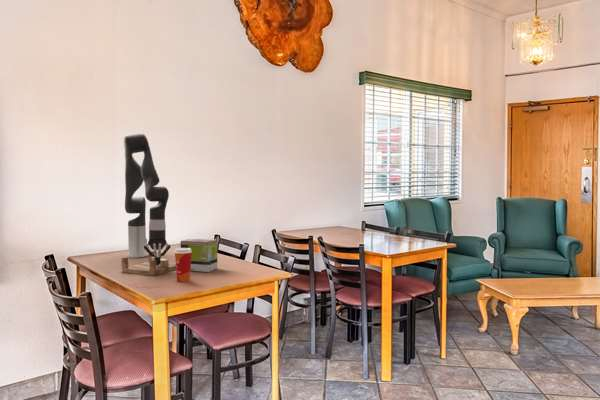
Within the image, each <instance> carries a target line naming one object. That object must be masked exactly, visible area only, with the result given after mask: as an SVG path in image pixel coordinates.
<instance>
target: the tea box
mask: <svg viewBox="0 0 600 400" xmlns="http://www.w3.org/2000/svg"><path fill="white" fill-rule="evenodd" d="M180 248H186V249H187V248H191V251H192V252H191V272H203V273H210V272H212V271H215V270H217V269H218V239H215V238H194V237H193V238H192V237H191V238H187V239H182V240H180Z"/></svg>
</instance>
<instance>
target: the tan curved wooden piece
mask: <svg viewBox="0 0 600 400" xmlns="http://www.w3.org/2000/svg"><path fill="white" fill-rule="evenodd" d="M151 260H154V257H153V256H151ZM168 263H169V260H168V259H165V258H164V257H163V258H162V257H161V262H160V264H159V266H162V267H168V266H169V264H168Z"/></svg>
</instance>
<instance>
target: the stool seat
mask: <svg viewBox="0 0 600 400" xmlns="http://www.w3.org/2000/svg"><path fill="white" fill-rule="evenodd" d="M150 251H151V252H152V253H154V250H150ZM168 264H169V266H168V267H162V266H159V265H156V260H151V256H150V255H149V254H148V261H145V262H141V263H137V264H134V265H133V264H132V265H130V266H129V256H122V257H121V273H125V274H126V273H127V274H133V275H142V276H149V277H150V276H151V277H155V276H159V275H162V274H166V273H169V272H172V271H173V272H174V271H176V262H168Z"/></svg>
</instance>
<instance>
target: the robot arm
mask: <svg viewBox="0 0 600 400" xmlns="http://www.w3.org/2000/svg"><path fill="white" fill-rule="evenodd" d="M123 149H124V162H125V163H124V168H125V169H124V170H125V171H124V180H125V182H124V184H125V185H124V186H125V195H124V196H125V197H124V210H125V212H126V213H127V214H129V215H130V214H131V215H132V214H138V216H137V217H135V218H133V219H130V220H128V222H127V234H128V258H132V259H133V258H136V259H137V258H143V257H146V256H149V255H150V256H153V257H154V260H156V265H159V264H160V262H161V258H162V257H164V256H165V255H166V254H167V252H168V251H169V250H170V249H171V244H169V243H167V240H166V208H167V204H168V200H169V197H170V195H169V194H170V192H169V189H168V188H167V187H165V186H157V185H159V183H160V177H159V174H158V173H157V170H156V167H155V165H154V160H153V156H152V151H151V148H150V144H149V141H148V138H147V135H146V134H144V133H143V132H141V133H132V134H127V135H125V136H124V137H123ZM136 153H143V154H144V155H143V160H142V162H141V164H139V162H137V160H136V159H135V158H134V154H136ZM143 183H144V189H145V190H144V192H145V196H134V194H135V193H136V192H137V191H138V190H139V189H140V188H141V187H142V185H143ZM146 200H147V201H149V202H151V203H154V202H157V204H156V205H154V206H151V207H149V221H148V238H147V237H146V236H147V233H146V232H147V231H146V230H147V227H146V226H147V225H146V209H147V208H146V207H147V206H146V205H147V202H146ZM164 247H165V249H164ZM151 249H152V250H151ZM163 249H164V250H163ZM162 250H163V251H162ZM151 251H154V253H152V252H151Z"/></svg>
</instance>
